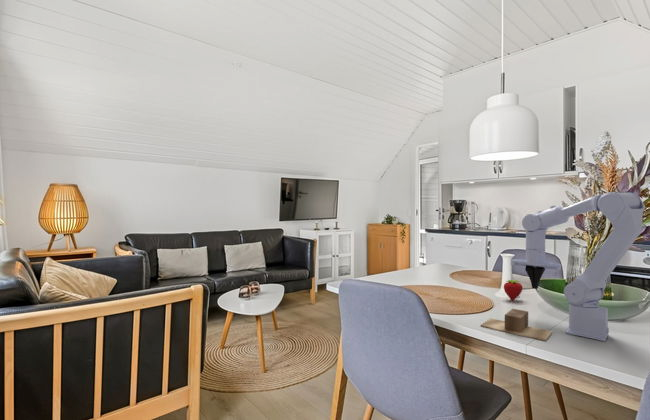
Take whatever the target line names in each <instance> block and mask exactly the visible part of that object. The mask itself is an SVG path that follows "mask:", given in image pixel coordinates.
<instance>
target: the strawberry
mask: <svg viewBox="0 0 650 420" xmlns="http://www.w3.org/2000/svg"><path fill="white" fill-rule="evenodd" d="M503 290H504V293H505V294H506V296H508V298H509V299H510V301H515V300H516V299H517V298H518V297H519V296H520V295H521V293H522V291H523V285H522V284H521V282H520V281H518V280H513V278H511V279H508V280H506V282H505V283H504V284H503Z"/></svg>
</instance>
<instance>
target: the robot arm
mask: <svg viewBox="0 0 650 420" xmlns="http://www.w3.org/2000/svg"><path fill="white" fill-rule="evenodd" d="M645 209H646V206H645V204H644V202H643V200H642V198H641V197H640V195H638V194H637V193H634V192H614V191H609V192H605V193H603V194H596V195H594V196H591V197H588V198H586V199H583V200H581V201H579V202H576V203H574V204H571V205H569V206H566V207H564V206H561V205H551V206H550V207H549V208H548V209H546V210H538V211H537V212H536V213H535V214H532V213H528V214H526V215H525V216H524V217H523V218H522V221H521V224H522V228H523V229H524V230H525V259H516V258H514V259H511V266H521V267H525V269H524V271H525V272H526V273H527V276H528V278H529V281H530V283H531V288H532V289H534V290H535V289H536V290H538V289H539V285H540V281H541V278H542V276H543V275H544V272H545V271H546V270H547V269H548V270H556V271H561V270H562V264H561V263H555V262H550V261H546V235H547V230H549V228H552V227H555V226H559V225H562V224H565V223H567V222H568V221H569V219H570V218H572V217H575V216H578V215H582V214H585V213H586V214H587V213H590V212H592V211H594V212H601V213H602V214H603V216H604V217H605V218H606V219H607V220H608V221H609V222H610V223H611V226H612V228H613V229H612V231H611V232H610V234H609V235H608V237H607V238H606V240H605V241H604V243H603V244H602V245H601V247H600V248H599V250H598V251H597V253H596V254H595V256H594V257H593V258H592V260H591V261H590V263H589V264H588V265H587V267H586V269H585V270H584V272H583V273H581V274H580V275H578V276H577V277H576V278H574V279H573V281H572V282H570V283H568V284H565V286H564V287H563V295H564V298H565V299H566V300H567V302H568V327H567V328H566V330H565V333H566V334H570V335H574V336H578V337H583V338H587V339H592V340H597V341H598V340H599V341H601V342H606V341H607V338H608V335H609V331H610V330H609V320H608V319H609V316H608V315H609V313H608V312H609V311H608V308H607V307H604V306H600V301H601V300H602V299H603V298H604V295H605V289H606V287H607V283H606V281H607V279H608V278H609V277H610V275H611V274H612V272H614V269H616V267H617V265H618V264H619V263H620V261H621V260H622V258H624V256H625V255H626V253H627V252H628V250H629V249H630V248H631V246H632V245H633V244H634V242H635V241H637V239H638V237H639V236H640V234H641V233H642V231H643V214H644V213H643V212H644V210H645Z"/></svg>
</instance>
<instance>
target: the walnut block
mask: <svg viewBox="0 0 650 420" xmlns="http://www.w3.org/2000/svg"><path fill="white" fill-rule="evenodd" d="M504 321H505V329H506V330H511V331H515V332H519V333H521V332H522V331H523V330H524V329H525V328H526V327H527V326H529V311H528V310H523V309H518V308H512V309H511V310H509V311H507V313H505V314H504Z"/></svg>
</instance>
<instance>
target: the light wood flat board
mask: <svg viewBox="0 0 650 420" xmlns="http://www.w3.org/2000/svg"><path fill="white" fill-rule="evenodd" d="M480 327H483V328H486V329H491V330H495V331H499V332H503V333H506V334H507V333H508V334H512V335H515V336H521V337H525V338H530V339H533V340H538V341H542V342H547V340H548V339H549V338H550V336H551V335H552V334H553V331H552V330H547V329H544V328H543V329H542V328H538V327H534V326H529V325H528V326H527V327H526V328H525V329H524V330H523V331H522V332H521V333H519V332H515V331H511V330H506V329H505V320H500V319H496V318H493V317H491V318H490V317H489V319H487V320H486V321H484V322H483V323H482V324H480Z"/></svg>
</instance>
